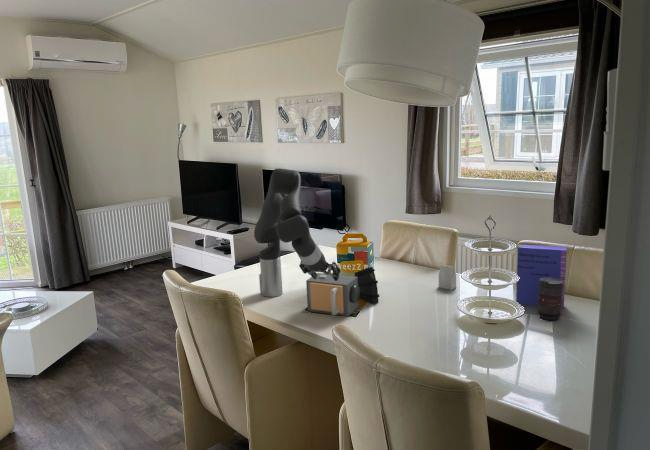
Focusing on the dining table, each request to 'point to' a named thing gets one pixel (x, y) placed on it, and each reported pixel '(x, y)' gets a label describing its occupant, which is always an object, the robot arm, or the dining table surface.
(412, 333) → the dining table surface
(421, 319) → the dining table surface
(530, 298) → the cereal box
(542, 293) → the camera lens
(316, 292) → the side door
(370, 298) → the black ridged panel
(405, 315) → the dining table surface
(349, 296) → the grey hinged door box
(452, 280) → the light grey rectangular block
